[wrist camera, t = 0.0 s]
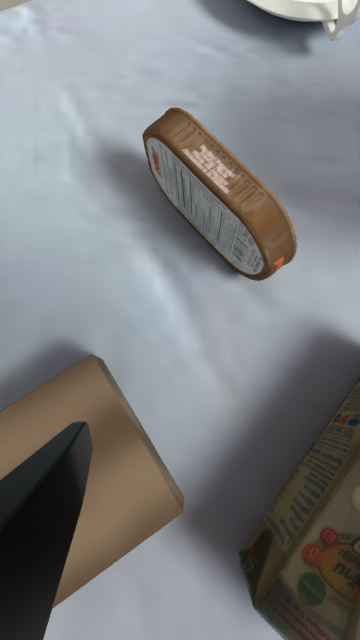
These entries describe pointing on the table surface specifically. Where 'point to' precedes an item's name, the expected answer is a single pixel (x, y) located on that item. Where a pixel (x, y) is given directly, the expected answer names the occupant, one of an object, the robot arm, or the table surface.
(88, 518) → the walnut podium
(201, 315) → the table surface
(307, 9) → the candlestick
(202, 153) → the tin
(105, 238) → the table surface
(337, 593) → the beverage carton
